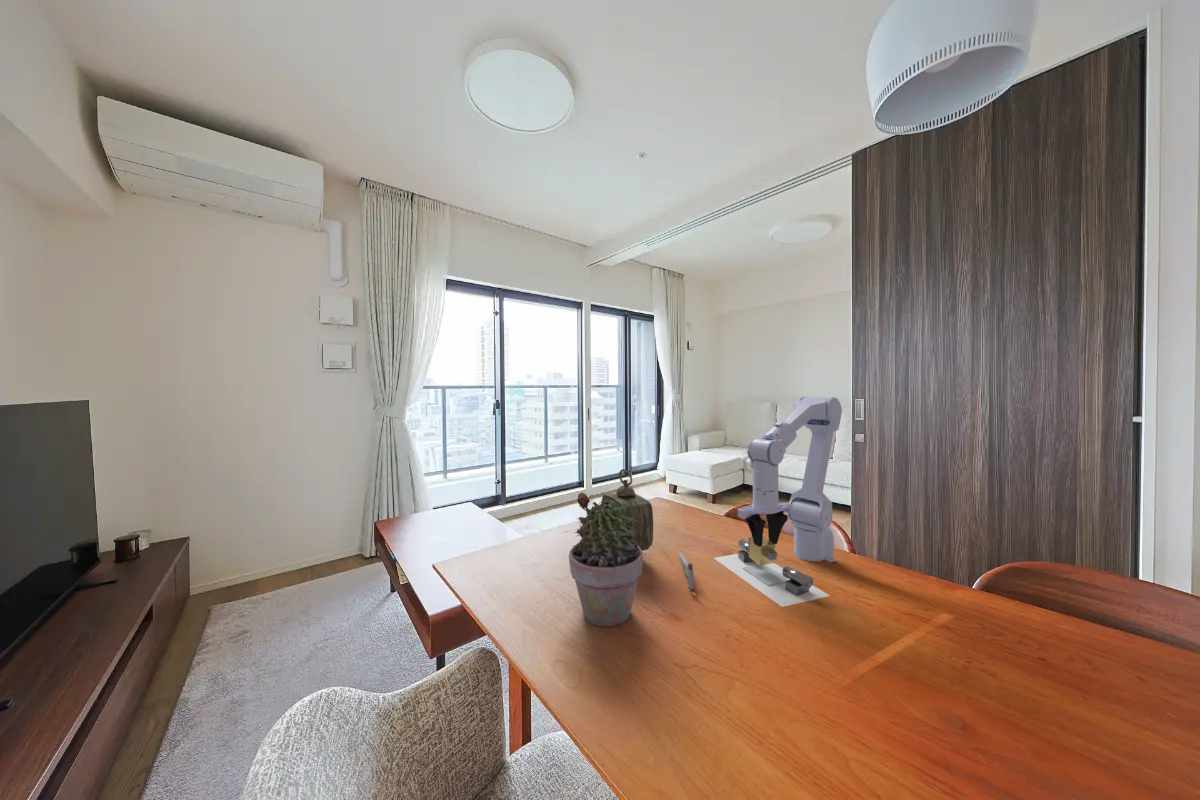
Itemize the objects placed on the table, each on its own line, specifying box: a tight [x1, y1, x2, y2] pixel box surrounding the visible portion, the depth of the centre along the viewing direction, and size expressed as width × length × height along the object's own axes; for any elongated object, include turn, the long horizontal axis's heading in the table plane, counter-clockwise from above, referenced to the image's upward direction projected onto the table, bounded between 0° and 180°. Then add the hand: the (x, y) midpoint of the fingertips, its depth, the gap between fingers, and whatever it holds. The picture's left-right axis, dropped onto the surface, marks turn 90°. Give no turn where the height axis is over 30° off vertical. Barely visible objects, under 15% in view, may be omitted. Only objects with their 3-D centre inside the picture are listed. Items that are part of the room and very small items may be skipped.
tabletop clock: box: [601, 468, 654, 552], centre depth 109 cm, size 14×9×25 cm, turn 25°
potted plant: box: [559, 491, 657, 628], centre depth 83 cm, size 18×20×25 cm
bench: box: [713, 553, 831, 608], centre depth 97 cm, size 13×25×1 cm, turn 18°
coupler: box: [747, 535, 778, 565], centre depth 98 cm, size 4×8×5 cm, turn 18°
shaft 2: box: [782, 565, 814, 596], centre depth 90 cm, size 6×4×4 cm, turn 28°
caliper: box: [677, 552, 695, 593], centre depth 102 cm, size 20×1×6 cm, turn 177°
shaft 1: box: [737, 538, 755, 563], centre depth 106 cm, size 6×4×4 cm, turn 8°
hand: (765, 543), depth 97 cm, fingers closed on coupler, 4 cm apart
